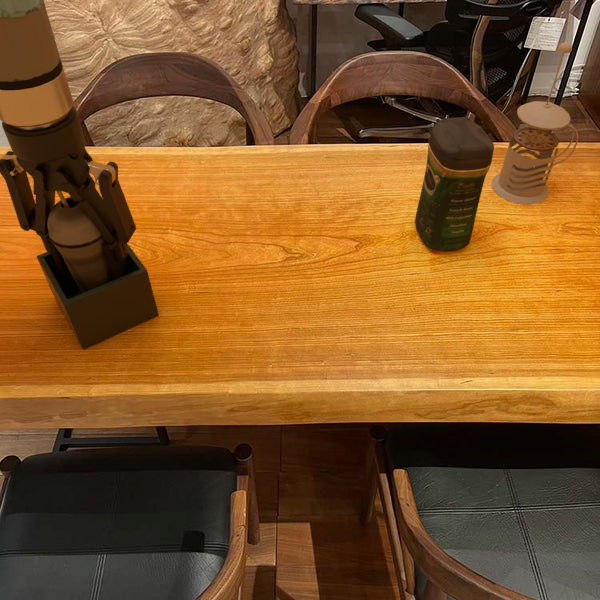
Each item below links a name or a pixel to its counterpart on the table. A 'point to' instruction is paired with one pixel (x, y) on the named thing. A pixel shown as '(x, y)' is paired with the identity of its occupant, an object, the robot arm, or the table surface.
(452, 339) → the table surface
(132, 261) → the bin
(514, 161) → the french press
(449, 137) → the coffee jar
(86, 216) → the beverage cup
